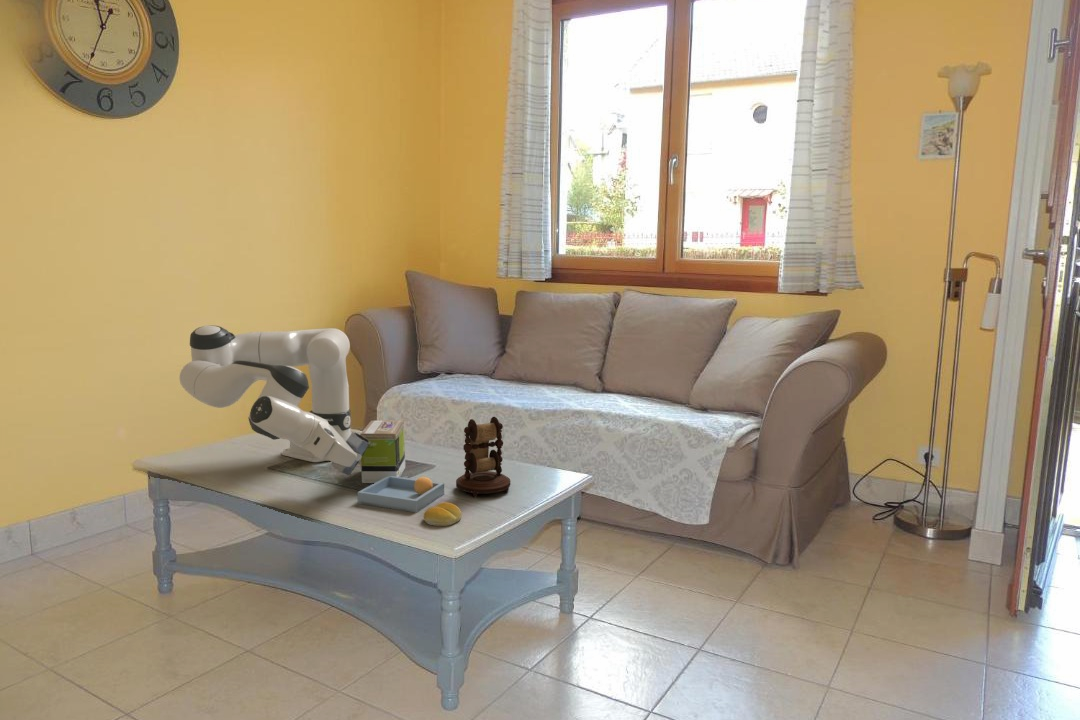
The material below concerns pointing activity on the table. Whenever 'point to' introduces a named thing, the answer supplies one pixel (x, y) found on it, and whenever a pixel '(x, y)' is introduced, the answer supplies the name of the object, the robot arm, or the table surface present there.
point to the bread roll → (442, 514)
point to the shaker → (358, 445)
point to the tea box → (383, 451)
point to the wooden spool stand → (483, 459)
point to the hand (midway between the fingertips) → (354, 452)
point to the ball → (423, 485)
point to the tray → (399, 494)
